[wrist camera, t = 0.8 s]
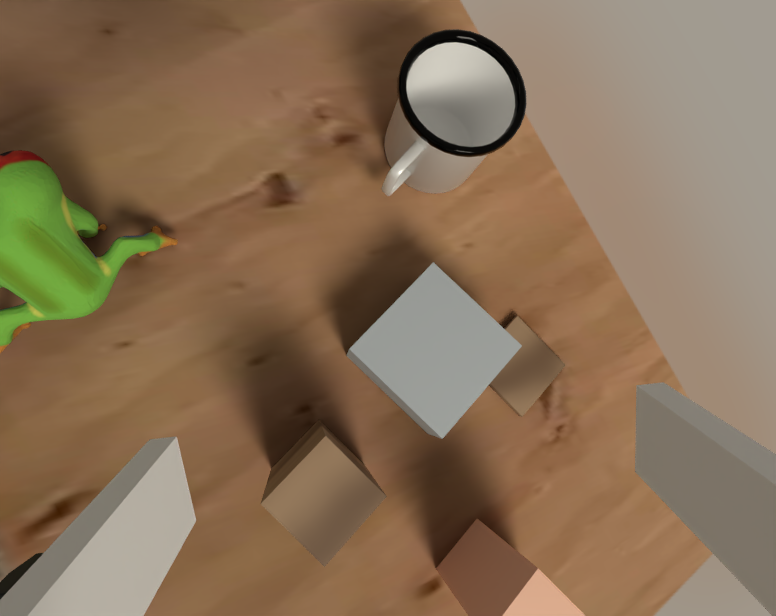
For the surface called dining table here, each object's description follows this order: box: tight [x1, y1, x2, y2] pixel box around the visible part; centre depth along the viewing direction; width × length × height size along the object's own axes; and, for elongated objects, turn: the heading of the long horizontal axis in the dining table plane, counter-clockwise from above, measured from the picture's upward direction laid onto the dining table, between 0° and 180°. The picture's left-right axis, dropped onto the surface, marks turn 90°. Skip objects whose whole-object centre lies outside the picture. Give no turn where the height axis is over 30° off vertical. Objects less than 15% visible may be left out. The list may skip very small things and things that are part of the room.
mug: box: [381, 29, 526, 196], centre depth 37 cm, size 12×9×9 cm
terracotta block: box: [436, 519, 585, 616], centre depth 33 cm, size 5×5×10 cm
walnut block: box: [261, 420, 387, 567], centre depth 31 cm, size 5×5×10 cm
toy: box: [0, 150, 178, 353], centre depth 30 cm, size 15×9×10 cm, turn 128°
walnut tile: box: [489, 316, 565, 417], centre depth 40 cm, size 6×6×1 cm
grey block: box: [347, 262, 522, 439], centre depth 36 cm, size 9×9×5 cm
